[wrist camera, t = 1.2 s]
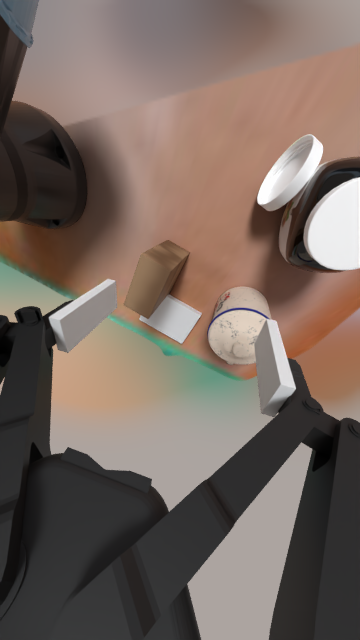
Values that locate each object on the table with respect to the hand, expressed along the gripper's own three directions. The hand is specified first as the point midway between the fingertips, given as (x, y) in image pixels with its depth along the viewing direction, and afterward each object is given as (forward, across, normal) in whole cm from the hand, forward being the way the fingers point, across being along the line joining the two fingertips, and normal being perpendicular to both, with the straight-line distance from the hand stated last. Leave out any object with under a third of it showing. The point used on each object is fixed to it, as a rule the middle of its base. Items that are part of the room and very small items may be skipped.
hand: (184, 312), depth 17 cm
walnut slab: (+17, -6, -3) cm, 19 cm away
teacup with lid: (+17, +7, -9) cm, 20 cm away
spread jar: (+17, +10, +9) cm, 22 cm away
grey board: (+17, -5, -12) cm, 22 cm away
